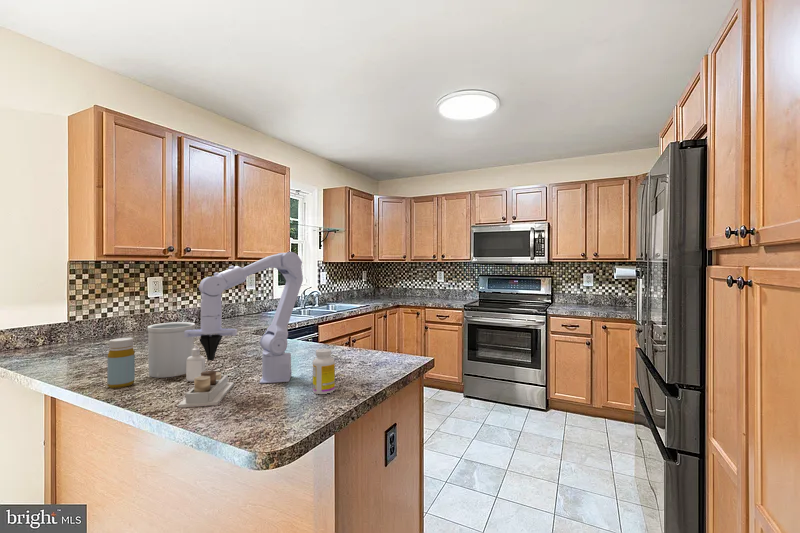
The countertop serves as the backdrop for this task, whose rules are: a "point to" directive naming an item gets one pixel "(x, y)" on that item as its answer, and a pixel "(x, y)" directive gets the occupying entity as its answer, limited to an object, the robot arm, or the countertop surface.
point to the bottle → (121, 363)
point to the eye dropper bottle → (194, 364)
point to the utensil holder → (169, 348)
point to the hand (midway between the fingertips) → (211, 359)
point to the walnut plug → (212, 376)
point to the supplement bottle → (323, 372)
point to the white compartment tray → (208, 394)
